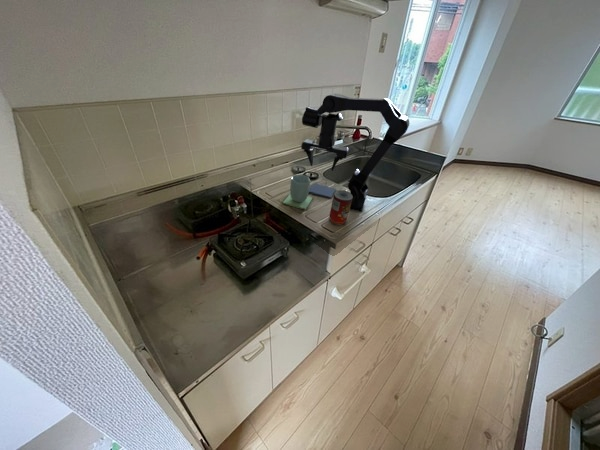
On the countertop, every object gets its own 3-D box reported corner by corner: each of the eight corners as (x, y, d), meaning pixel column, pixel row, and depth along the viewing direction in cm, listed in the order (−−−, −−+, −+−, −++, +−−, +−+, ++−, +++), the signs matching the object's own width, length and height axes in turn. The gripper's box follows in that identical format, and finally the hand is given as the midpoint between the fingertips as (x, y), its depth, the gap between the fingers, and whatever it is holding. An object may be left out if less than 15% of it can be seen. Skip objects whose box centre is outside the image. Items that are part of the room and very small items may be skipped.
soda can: (340, 228, 91) (347, 200, 84) (325, 220, 94) (330, 192, 87) (349, 220, 95) (356, 193, 88) (334, 213, 99) (340, 186, 91)
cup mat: (312, 199, 106) (312, 197, 106) (305, 210, 99) (305, 208, 98) (291, 193, 108) (291, 191, 108) (282, 203, 101) (282, 202, 100)
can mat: (335, 190, 115) (335, 188, 115) (330, 198, 108) (331, 197, 108) (313, 184, 117) (313, 183, 117) (308, 192, 111) (308, 191, 110)
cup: (293, 205, 99) (295, 184, 93) (286, 196, 104) (288, 175, 98) (310, 203, 102) (313, 181, 96) (302, 194, 107) (305, 173, 101)
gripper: (354, 130, 97) (346, 166, 106) (311, 121, 101) (307, 157, 110) (350, 137, 88) (341, 175, 98) (302, 127, 92) (298, 165, 102)
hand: (321, 168), depth 102 cm, fingers open, 9 cm apart
